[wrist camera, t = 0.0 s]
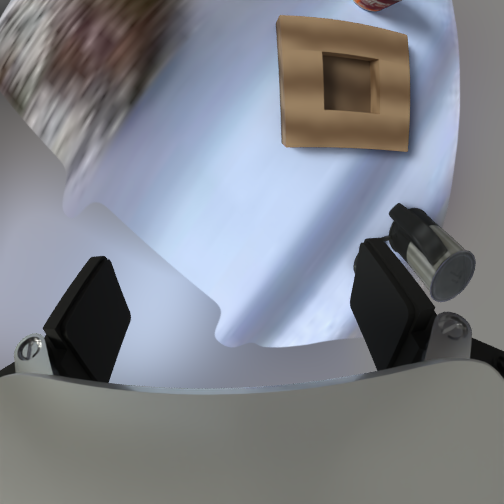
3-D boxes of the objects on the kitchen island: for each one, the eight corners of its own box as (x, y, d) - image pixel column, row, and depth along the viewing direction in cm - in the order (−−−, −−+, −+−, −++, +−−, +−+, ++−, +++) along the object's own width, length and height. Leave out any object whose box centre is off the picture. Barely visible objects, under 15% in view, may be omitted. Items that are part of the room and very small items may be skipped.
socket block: (275, 23, 28) (279, 15, 24) (393, 38, 28) (407, 35, 24) (281, 142, 37) (286, 147, 33) (394, 146, 37) (407, 151, 34)
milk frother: (436, 219, 44) (484, 261, 31) (394, 284, 51) (427, 337, 38) (384, 186, 41) (436, 227, 28) (339, 264, 48) (369, 323, 35)
